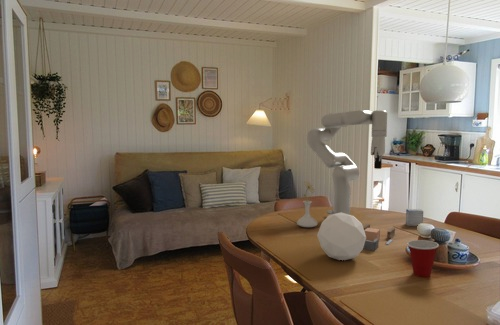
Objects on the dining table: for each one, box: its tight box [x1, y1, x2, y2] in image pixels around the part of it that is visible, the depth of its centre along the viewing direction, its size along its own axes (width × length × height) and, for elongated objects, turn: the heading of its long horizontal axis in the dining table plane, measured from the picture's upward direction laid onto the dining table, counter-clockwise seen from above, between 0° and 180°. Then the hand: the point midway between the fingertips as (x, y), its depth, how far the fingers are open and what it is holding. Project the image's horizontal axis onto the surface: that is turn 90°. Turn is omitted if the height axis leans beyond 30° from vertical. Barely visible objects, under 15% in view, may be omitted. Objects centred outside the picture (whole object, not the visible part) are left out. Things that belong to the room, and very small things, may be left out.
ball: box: [316, 212, 366, 262], centre depth 155 cm, size 19×20×20 cm
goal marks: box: [385, 238, 394, 246], centre depth 181 cm, size 17×8×1 cm, turn 55°
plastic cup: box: [406, 239, 440, 278], centre depth 139 cm, size 11×11×12 cm
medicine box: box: [405, 208, 424, 227], centre depth 205 cm, size 8×4×9 cm, turn 84°
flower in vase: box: [296, 180, 318, 228], centre depth 204 cm, size 13×11×25 cm
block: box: [364, 227, 381, 241], centre depth 180 cm, size 6×6×5 cm
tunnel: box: [363, 223, 396, 240], centre depth 188 cm, size 14×8×4 cm, turn 55°
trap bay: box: [363, 239, 380, 252], centre depth 170 cm, size 12×6×4 cm, turn 55°
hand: (377, 168), depth 199 cm, fingers closed
